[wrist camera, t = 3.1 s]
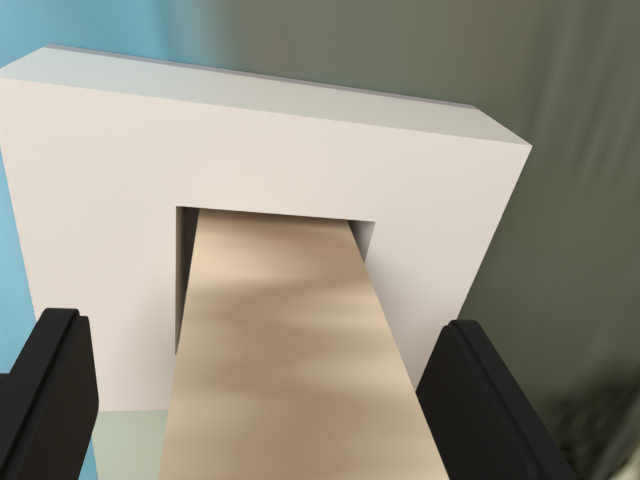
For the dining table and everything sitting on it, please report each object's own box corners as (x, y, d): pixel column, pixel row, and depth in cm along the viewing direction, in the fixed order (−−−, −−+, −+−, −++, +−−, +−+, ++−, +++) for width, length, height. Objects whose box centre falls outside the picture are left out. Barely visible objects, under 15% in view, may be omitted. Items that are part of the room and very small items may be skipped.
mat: (385, 353, 20) (392, 371, 19) (344, 471, 24) (348, 489, 24) (89, 350, 17) (82, 370, 16) (106, 482, 22) (101, 503, 21)
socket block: (472, 105, 14) (532, 145, 11) (391, 337, 19) (418, 406, 16) (50, 43, 11) (-15, 75, 9) (87, 330, 17) (55, 411, 14)
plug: (333, 186, 14) (462, 512, 6) (313, 285, 16) (388, 629, 8) (205, 174, 13) (148, 536, 5) (200, 279, 16) (155, 659, 7)
